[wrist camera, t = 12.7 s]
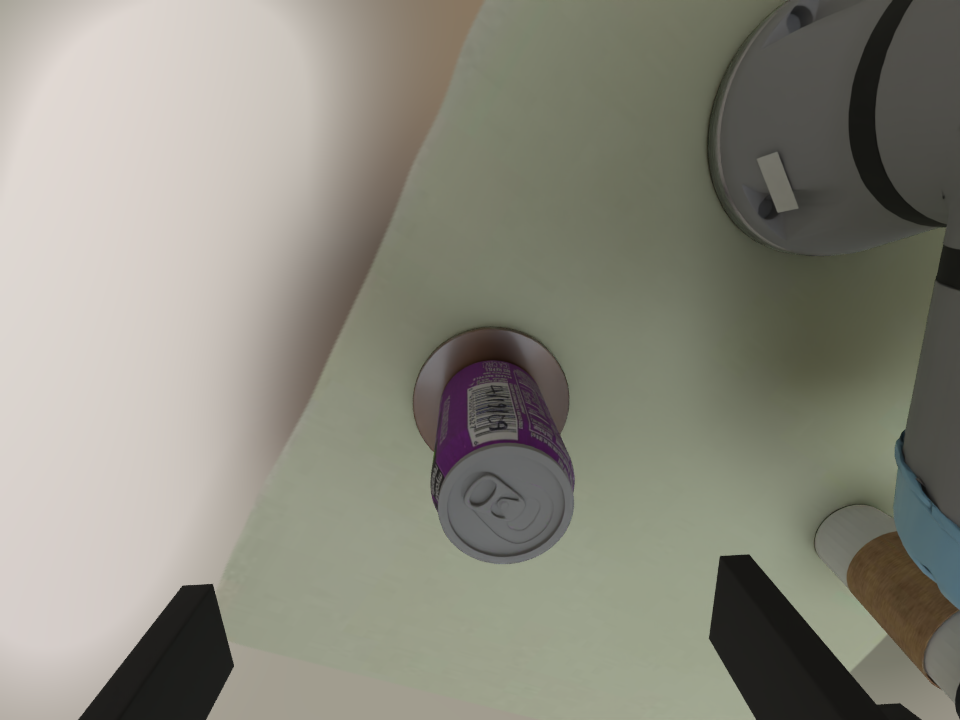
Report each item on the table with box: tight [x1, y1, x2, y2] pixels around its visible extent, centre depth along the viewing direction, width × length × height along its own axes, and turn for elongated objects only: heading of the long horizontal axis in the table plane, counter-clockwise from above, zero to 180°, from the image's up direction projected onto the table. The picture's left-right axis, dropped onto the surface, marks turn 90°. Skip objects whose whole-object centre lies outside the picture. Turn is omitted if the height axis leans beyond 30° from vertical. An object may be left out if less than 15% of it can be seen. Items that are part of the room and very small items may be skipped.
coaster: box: [413, 327, 569, 452], centre depth 32 cm, size 11×11×1 cm
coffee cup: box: [815, 505, 960, 718], centre depth 30 cm, size 8×8×15 cm
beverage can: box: [431, 360, 575, 564], centre depth 26 cm, size 7×7×12 cm
